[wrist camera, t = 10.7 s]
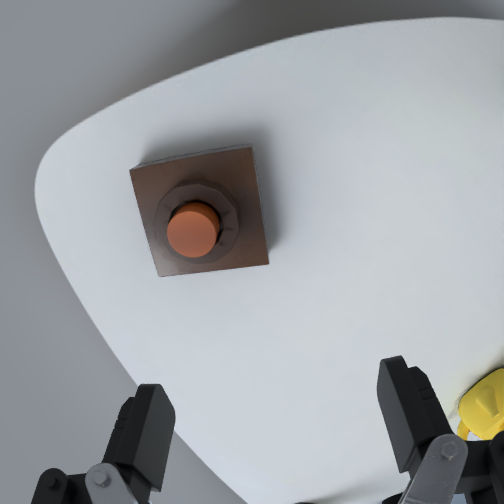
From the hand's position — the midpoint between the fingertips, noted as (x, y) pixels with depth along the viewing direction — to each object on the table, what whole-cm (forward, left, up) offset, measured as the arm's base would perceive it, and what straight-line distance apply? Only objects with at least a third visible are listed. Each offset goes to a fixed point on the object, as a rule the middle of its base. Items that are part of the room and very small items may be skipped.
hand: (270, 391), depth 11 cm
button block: (-1, -5, -19) cm, 20 cm away
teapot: (+35, +33, -19) cm, 52 cm away
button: (-1, -5, -15) cm, 16 cm away
